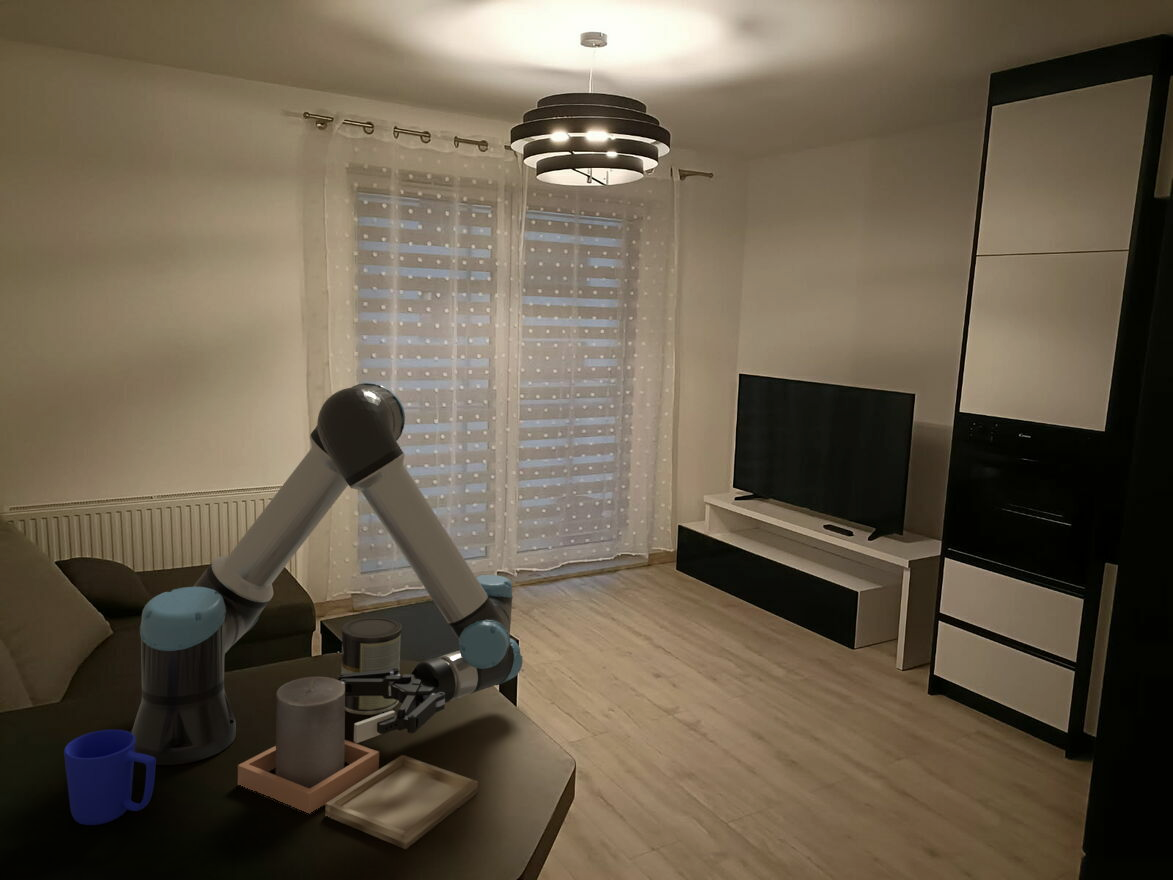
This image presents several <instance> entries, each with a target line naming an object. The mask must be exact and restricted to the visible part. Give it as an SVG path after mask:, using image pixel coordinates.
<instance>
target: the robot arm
mask: <svg viewBox="0 0 1173 880" xmlns="http://www.w3.org/2000/svg"><path fill="white" fill-rule="evenodd" d="M405 414H406V413H405V409H404V406H403V404H402V402H401V400H400V399H399V397H398V396H397V395H396V394H395V393H394V392H393V391H392V390H391V389H389V388H387V387H385V386H383V385H380V384H376V383H371V382H363V383H358V384H356V385H353V386H351V387H347V388H343V389H341V390H338V391H336V392H335V393H333V394H332V395H330V396H329V397H328V398H327V399H326V401H324V403H323V404H322V406H321V408H320V410H319V413H318V417H317V422H316V423H317V425H316V426H315V428H314V429H313V430H312V431H311V432H310V434H309V439H310V445H311V447H310V450H309V451H308V452H307V453H306V454H305V456H304V457H303V458H302V459H301V461H300V462H299V463H298V465H297V466H296V467H295V469H294V470H293V472H292V473H291V474H290V475H289V477H288V478H287V479H286V481H285V482H284V483H283V484H282V485H281V487H280V488H279V490H278V491H277V492H276V494H275V495H274V496H273V497H272V499H271V500H270V501H269V503H267V505H266V507H265V508H264V509H263V510H262V512H261V513H260V514H259V516H258V517H257V518H256V519H255V521H254V522H253V523H252V525H250V527H249V529H248V530H247V531H246V532H245V534H244V535H243V536H242V538H241V539H240V541H238V543H237V544H236V546H235V547H234V548H233V549H232V551H230V554H229V555H224V556H218V557H217V556H216V558H214V559H213V561H212V562H211V563H210V564H209V565H208V567H207V568H206V569H205V570H204V572H203V573H202V575H201V576H200V577H199V579H198V580H196V582H195V584H194V585H193V586H187V587H186V586H185V587H178V588H175V589H172V590H171V591H165V592H161V593H160V594H157V595H156V596H154V597H153V598H152V599H150V600H149V601H148V602H147V603H146V604H145V606H144V608H143V609H142V613H141V622H140V625H139V635H140V655H141V656H140V658H141V659H140V661H141V664H140V665H141V668H140V669H141V700H140V701H141V702H140V705H139V707H138V710H137V714H136V717H135V719H134V724H133V727H132V728H131V730H130V731H129V732H130V733H132V734H133V735H134V736H135V738H136V743H135V753H141V754H146V755H149V756H153V757H155V758H156V766H172V765H173V766H175V765H184V764H189V763H193V762H198V761H201V760H205V759H208V758H211V757H213V756H216V755H217V754H220V753H221V752H222V751H224V750H226V749H227V748H229V746H231V744H233V742H234V741H235V739H236V734H237V733H236V732H237V731H236V730H237V728H236V725H237V724H236V719H235V715H234V713H233V709H232V708H231V704H230V702H229V700H228V697H227V694H226V692H225V654H227V652H228V651H229V650H230V649H231V648H232V647H233V646H234V645H235V644H236V643H237V642H238V641H239V640H240V639H241V638H242V637H243V636H244V635H245V634H247V633H248V632H249V631H250V630H251V629H252V628H253V627H254V626H255V625H256V623H257V622H258V620H259V617H260V615H261V613H262V611H263V610H264V609H265V607H266V606H267V605H268V603H270V601H271V600H272V598H273V596H274V588H273V583H274V582H275V580H276V579H277V577H279V575H280V574H281V573H282V571H284V568H285V567H286V566H287V565H288V563H289V562H290V561H291V559H292V558H293V557H294V555H295V554H296V553H297V552H298V550H299V549H300V548H301V547H302V545H303V544H304V542H306V540H307V539H308V538H309V536H310V535H311V533H312V532H314V530H315V529H316V527H317V526H318V525H319V523H320V522H321V521H322V519H324V517H325V516H326V514H327V513H328V512H329V510H330V509H331V508H332V507H333V505H334V504H335V502H336V501H337V500H338V499H339V497H341V495H342V493H344V491H345V489H347V487H348V486H349V488H350V489H353V490H358V491H360V492H361V493H362V495H363V497H364V498H365V500H366V501H367V503H368V504H369V506H370V507H371V509H372V510H373V511H374V513H375V514H376V515H375V516H377V517H378V520H380V522H381V524H382V525H383V527H384V529H385V530H386V531H387V533H388V534H389V535H390V537H391V539H392V541H393V542H394V544H395V545H396V546H397V548H398V549H399V551H400V553H401V554H402V556H403V557H404V558H405V560H406V561H407V563H408V565H409V566H410V568H411V569H412V571H413V572H414V574H415V576H416V577H417V578H418V580H419V581H420V583H421V584H422V586H423V587H424V589H425V591H426V592H427V593H428V595H429V596H430V598H431V600H432V601H433V602H434V604H435V606H436V607H437V609H438V610H439V612H440V613H441V615H442V616H443V617H444V619H445V620H446V622H447V624H448V625H449V627H450V628H451V629H452V631H453V633H454V635H455V636H456V638H457V639H458V643H457V644H458V647H459V648H458V649H459V650H456V651H453V652H450V653H447V654H446V653H445V654H444V655H441V656H438V657H434V658H431V659H428V660H427V659H426V660H424V661H421V662H419V663H418V664H417V665H416V666H415V667H414V669H413V670H412V672H411V673H408V674H407V673H406V674H405V673H403V674H400V673H399V674H398V668H391V669H387V670H381V671H370V672H359V673H348V674H341V673H340V674H338V675H337V680H339V681H341V682H342V683H343V684H344V686H345V696H383V697H384V698H385V699H396V700H398V701H399V702H398V703H400V704H401V706H400V707H397V711H394V710H393V709H391V710H389V711H386V712H384V713H379V714H376V715H375V716H372V717H370V718H366V719H363V720H361V721H357V722H355V723H354V724H353V743H356V744H359V743H361V742H364V741H368V740H370V739H372V738H375V737H378V736H380V735H383V734H388V733H391V732H393V731H395V730H398V731H403V730H405V729H406V730H407V733H409V734H414V733H416V732H417V731H418V730H419V729H420V728H421V727H423V725H425V723H427V722H428V720H430V719H431V718H432V717H433V716H434V715H435V714H436V713H438V712H441V711H442V710H445V707H446V706H445V704H447V703H449V702H450V701H454V700H459V699H460V698H462V697H465V696H468V695H472V694H474V693H476V692H479V691H483V690H485V689H488V688H489V689H490V688H492V687H493V686H499V685H502V684H503V683H506V682H508V681H510V680H512V679H513V678H515V677H517V675H519V674H520V671H521V670H522V667H523V655H522V654H521V648H520V646H519V644H518V643H517V641H515V639H513V638H511V621H512V608H513V599H514V598H513V597H514V596H513V584H512V581H511V579H509V578H507V577H506V576H503V575H497V574H483V575H478V576H476V574H475V573H474V572H473V571H472V569H471V567H470V565H469V564H468V562H467V561H466V559H465V558H464V556H463V555H462V553H461V552H460V550H459V549H458V547H457V546H456V544H455V543H454V541H453V539H452V538H451V537H450V534H449V533H448V531H447V530H446V529H445V527H444V526H443V523H442V522H441V521H440V519H439V517H438V516H437V515H436V513H435V511H434V510H433V509H432V507H431V505H430V503H429V502H428V501H427V499H426V497H425V496H424V494H423V493H422V491H421V490H420V488H419V487H418V485H417V483H416V482H415V481H414V479H413V478H412V476H411V474H410V473H409V471H408V469H407V468H406V467H405V465H404V459H405V456H406V455H405V453H404V451H403V450H402V448H401V446H400V445H399V443H398V440H399V439H400V437H401V436H402V434H403V431H404V429H405V425H406V424H405V423H406V415H405ZM389 686H391V693H390V692H389Z"/></svg>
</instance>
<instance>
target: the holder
mask: <svg viewBox="0 0 1173 880" xmlns="http://www.w3.org/2000/svg"><path fill="white" fill-rule="evenodd" d="M344 741H345V753H344V763H345V762H347V763H346V764H349V765H347V766H344V768H343V769H342V770H340V771H338V772H337V773H335V774H333V775H332V776H330V777H328V778H327V779H325V780H323V781H322V782H320V783H318V784H317V785H315V786H313V787H312V788H310V789H309V788H306V787H304V786H301V785H299V784H296V783H294V782H291V781H289V780H286V779H284V778H281V777H279V776H277V775H276V774H275V773H274V774H273V773H271V772H272V771H271V770H273V769H274V768H276V745H274V746H273V747H270V748H268V749H267V750H264V751H262V752H261V753H259V754H257V755H255V756H253V757H251V758H249V759H247V760H245V761H244V762H241V763H240V764H238V765H237V786H239V785H241V786H240V787H242V786H243V788H244V787H245V789H247V788H248V789H247V790H249V789H250V790H249V791H251V790H253V791H252V792H254V791H257V792H258V793H261V794H264V795H266V796H270V797H271V798H274V799H276V800H278V801H280V802H283V803H285V804H288V805H291V806H292V807H295V808H297V809H299V810H302V811H304V812H306V813H309V814H310V813H311V812H313V811H314V810H316V809H317V810H319V809H320V807H321V806H322V807H324V806H325V804H326V803H327V802H329V801H330V800H332V799H333V798H335V797H337V796H338V795H340V794H341V793H343V792H344V791H346V790H348V789H349V788H351V787H352V786H354V785H356V784H357V783H359V782H360V781H362V780H363V779H365V778H367V777H368V776H370V775H371V774H373V773H374V772H376V771H378V770H379V769H380V768H379V767H380V751H378V750H375V749H373V748H372V749H371V748H369V747H366V746H364V745H361V744H359V743H355V742H354V741H350V740H347V739H345V738H344ZM274 770H275V769H274ZM274 770H273V771H274ZM269 771H271V772H269ZM258 793H257V794H258ZM261 794H260V795H261ZM266 796H265V797H266ZM280 802H279V803H280ZM285 804H284V805H285ZM323 805H324V806H323ZM292 807H291V808H292ZM322 807H321V808H322ZM318 808H319V809H318ZM299 810H298V811H299ZM317 810H316V811H317ZM314 812H315V811H314ZM314 812H313V813H314ZM306 813H305V814H306ZM311 814H312V813H311ZM311 814H310V815H311Z"/></svg>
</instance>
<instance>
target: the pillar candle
mask: <svg viewBox="0 0 1173 880" xmlns="http://www.w3.org/2000/svg"><path fill="white" fill-rule="evenodd" d="M275 695H276V697H275V698H276V699H275V700H276V704H275V705H276V707H275V708H276V711H275V718H276V719H275V724H276V725H275V746H276V769H275V775H277V776H279V777H281V778H284V779H286V780H289V781H291V782H294V783H296V784H299V785H301V786H304V787H306V788H309V789H310V788H312V787H313V786H315V785H317V784H318V783H320V782H322V781H323V780H325V779H327V778H328V777H330V776H332V775H333V774H335V773H337V772H338V771H340V770H342V769H343V768H345V762H344V753H345V741H344V739H345V733H346V732H345V727H346V726H345V725H346V724H345V721H346V720H345V717H346V710H345V686H344V684H343V683H342V682H341V681H339V680H338V679H336V678H332V677H328V676H307V677H306V676H305V677H301V678H298V679H292V680H290V681H289V682H286V683H284V684H282V685H281V686H280V687H279V688H278V689H277V690H276V694H275Z"/></svg>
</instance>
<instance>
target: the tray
mask: <svg viewBox="0 0 1173 880" xmlns="http://www.w3.org/2000/svg"><path fill="white" fill-rule="evenodd" d="M478 783H479V782H478V781H477V780H475V779H473V778H469V777H467V776H463V775H460V774H458V773H455V772H452V771H451V770H450V771H449V770H446V769H443V768H441V767H438V766H435V765H432V764H429V763H427V762H423V761H421V760H418V759H417V758H416V759H415V758H412V757H409V756H408V755H405V754H402V755H400V756H398V757H396V758H395V759H393V760H391V761H390V762H388V763H387V764H386V765H384V766H382V767H380V768H379V770H378V771H376V772H374V773H373V774H371V775H370V776H368V777H367V778H365V779H363V780H362V781H360V782H359V783H357V784H356V785H354V786H352V787H351V788H349V789H348V790H346V791H344V792H343V793H341V794H340V795H338V796H337V797H335V798H333V799H332V800H330V801H329V802H327V803H326V804H325V805H324V807H325V808H324V809H325V810H324V813H325V814H324V815H325V817H327V816H328V817H327V818H329V817H330V818H329V819H332V820H335V821H337V822H339V823H341V824H344V825H346V826H349V827H351V828H354V829H355V830H358V831H360V832H363V833H365V834H367V835H370V836H373V837H375V838H377V839H380V840H382V841H385V842H387V843H389V844H392V845H394V846H396V847H398V848H402V849H404V850H407V849H409V848H410V847H411V846H412V845H414V844H415V843H416V842H417V841H418V840H419V839H421V838H422V837H424V836H425V835H426V834H427V833H429V832H430V831H431V830H432V829H434V828H435V827H437V825H439V824H440V823H441V822H443V821H444V820H445V819H446V818H448V816H450V815H452V814H453V813H454V812H456V810H458V809H459V808H460V807H462V805H464V804H465V803H466V802H468V801H469V800H470V799H471V798H473V797H474V796H475V795H476V794H478V787H479V786H478ZM457 808H458V809H457Z"/></svg>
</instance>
